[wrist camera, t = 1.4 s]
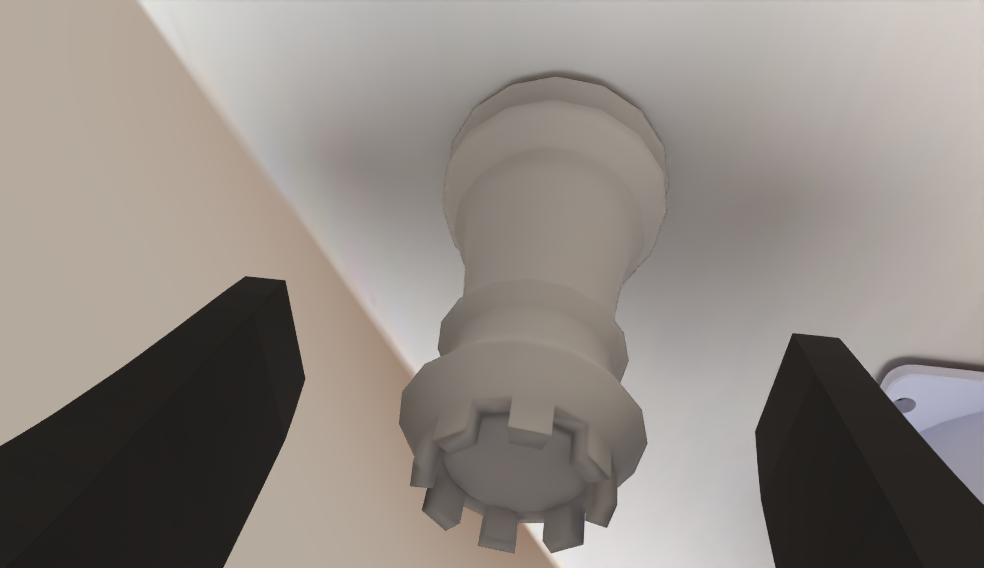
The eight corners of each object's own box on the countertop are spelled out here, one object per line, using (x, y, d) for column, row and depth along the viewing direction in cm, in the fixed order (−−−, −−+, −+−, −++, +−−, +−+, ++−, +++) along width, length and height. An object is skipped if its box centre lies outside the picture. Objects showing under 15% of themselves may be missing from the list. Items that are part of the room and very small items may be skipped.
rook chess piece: (625, 29, 13) (629, 318, 7) (694, 225, 15) (744, 575, 9) (414, 114, 15) (259, 409, 8) (504, 279, 17) (436, 607, 11)
